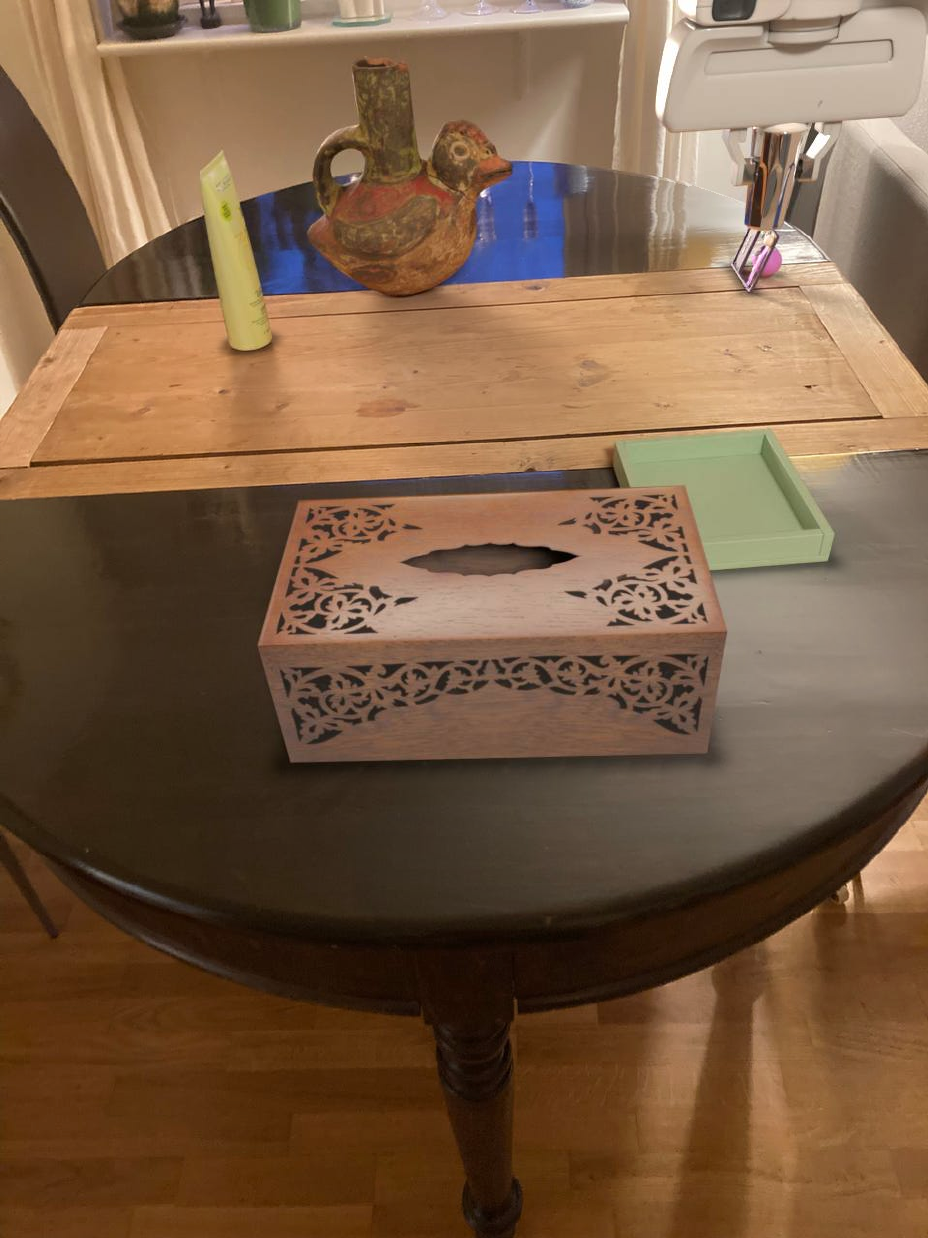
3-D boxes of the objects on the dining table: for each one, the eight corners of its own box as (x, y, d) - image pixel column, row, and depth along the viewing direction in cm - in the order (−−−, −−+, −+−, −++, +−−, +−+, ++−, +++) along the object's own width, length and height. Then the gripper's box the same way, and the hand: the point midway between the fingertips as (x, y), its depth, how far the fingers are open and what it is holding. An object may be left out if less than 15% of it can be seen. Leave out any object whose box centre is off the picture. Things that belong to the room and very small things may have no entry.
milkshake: (782, 239, 77) (808, 105, 71) (726, 226, 80) (746, 96, 73) (809, 225, 80) (836, 95, 73) (753, 213, 82) (775, 86, 76)
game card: (750, 208, 110) (771, 233, 103) (789, 220, 111) (812, 246, 104) (725, 262, 114) (743, 291, 107) (762, 274, 115) (783, 302, 108)
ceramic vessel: (507, 316, 107) (499, 70, 91) (295, 313, 111) (250, 78, 95) (525, 261, 120) (521, 37, 103) (334, 261, 124) (301, 46, 108)
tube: (282, 344, 105) (246, 159, 92) (242, 358, 103) (198, 170, 90) (261, 329, 109) (223, 149, 96) (221, 341, 107) (177, 159, 94)
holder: (766, 454, 81) (771, 428, 80) (828, 561, 70) (835, 533, 68) (613, 466, 81) (614, 440, 80) (648, 575, 70) (650, 548, 68)
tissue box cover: (290, 762, 58) (257, 645, 51) (322, 612, 69) (298, 500, 62) (706, 753, 56) (727, 631, 50) (672, 601, 67) (685, 485, 61)
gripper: (925, -33, 71) (882, 162, 80) (659, -13, 71) (645, 179, 80) (962, -22, 66) (911, 184, 75) (676, -1, 66) (660, 202, 75)
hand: (772, 181), depth 77 cm, fingers closed on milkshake, 4 cm apart
